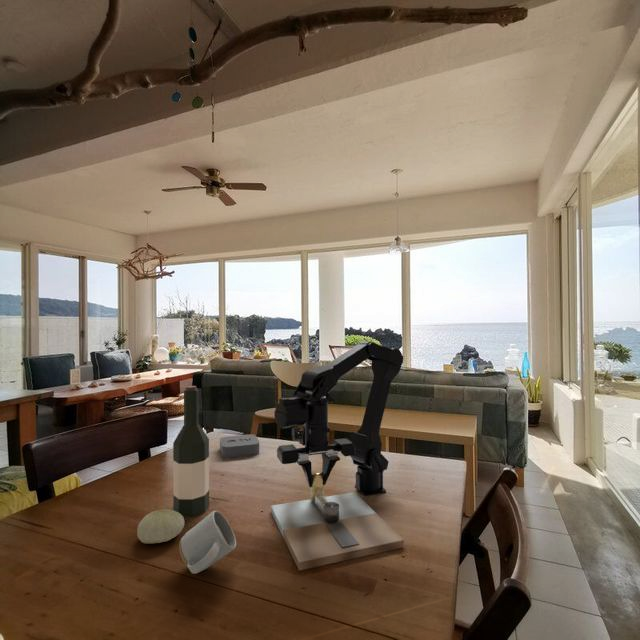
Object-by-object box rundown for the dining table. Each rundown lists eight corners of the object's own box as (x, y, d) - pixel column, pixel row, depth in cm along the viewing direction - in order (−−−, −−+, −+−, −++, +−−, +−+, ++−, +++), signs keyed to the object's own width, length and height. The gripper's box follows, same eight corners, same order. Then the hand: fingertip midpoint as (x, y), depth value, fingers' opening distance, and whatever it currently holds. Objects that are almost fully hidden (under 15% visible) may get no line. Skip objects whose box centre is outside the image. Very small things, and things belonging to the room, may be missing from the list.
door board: (354, 497, 102) (354, 491, 102) (403, 547, 80) (403, 538, 80) (270, 511, 95) (270, 504, 95) (299, 570, 72) (299, 561, 72)
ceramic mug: (203, 570, 75) (185, 532, 77) (240, 544, 76) (222, 507, 79) (181, 585, 65) (162, 541, 68) (225, 555, 66) (204, 512, 69)
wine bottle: (216, 505, 99) (215, 385, 99) (192, 520, 91) (192, 390, 91) (190, 499, 102) (190, 383, 102) (165, 513, 94) (165, 388, 95)
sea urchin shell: (171, 538, 78) (145, 508, 79) (148, 566, 79) (122, 536, 80) (195, 517, 87) (171, 490, 88) (174, 542, 88) (150, 515, 89)
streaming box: (222, 461, 131) (222, 447, 131) (219, 449, 143) (219, 437, 143) (260, 456, 135) (260, 443, 135) (254, 446, 147) (254, 433, 147)
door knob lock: (341, 521, 86) (341, 491, 86) (326, 524, 85) (326, 493, 85) (321, 496, 99) (321, 470, 99) (308, 498, 98) (308, 472, 98)
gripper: (339, 411, 108) (339, 469, 107) (271, 417, 101) (272, 478, 101) (356, 421, 97) (356, 485, 97) (282, 428, 91) (282, 496, 91)
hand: (316, 485), depth 97 cm, fingers closed on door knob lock, 3 cm apart
